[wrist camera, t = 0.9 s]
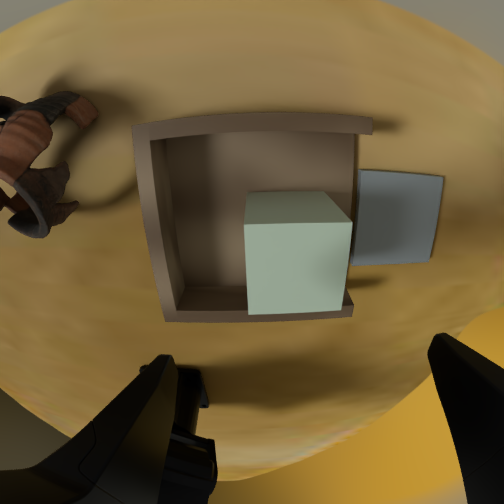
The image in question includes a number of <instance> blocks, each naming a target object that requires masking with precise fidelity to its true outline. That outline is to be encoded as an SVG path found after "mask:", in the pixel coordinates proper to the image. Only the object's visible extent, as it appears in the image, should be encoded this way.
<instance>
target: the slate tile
mask: <svg viewBox="0 0 504 504" xmlns="http://www.w3.org/2000/svg"><path fill="white" fill-rule="evenodd" d="M442 185H443V177H441V176H438V175H429V174H419V173H409V172H397V171H384V170H367V169H358V185H357V200H356V212H355V223H354V233H353V242H352V251H351V259H350V263H351V264H352V266H359V265H381V264H400V263H419V262H429V258H430V254H431V249H432V245H433V240H434V235H435V230H436V225H437V219H438V213H439V207H440V200H441V193H442Z"/></svg>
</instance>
